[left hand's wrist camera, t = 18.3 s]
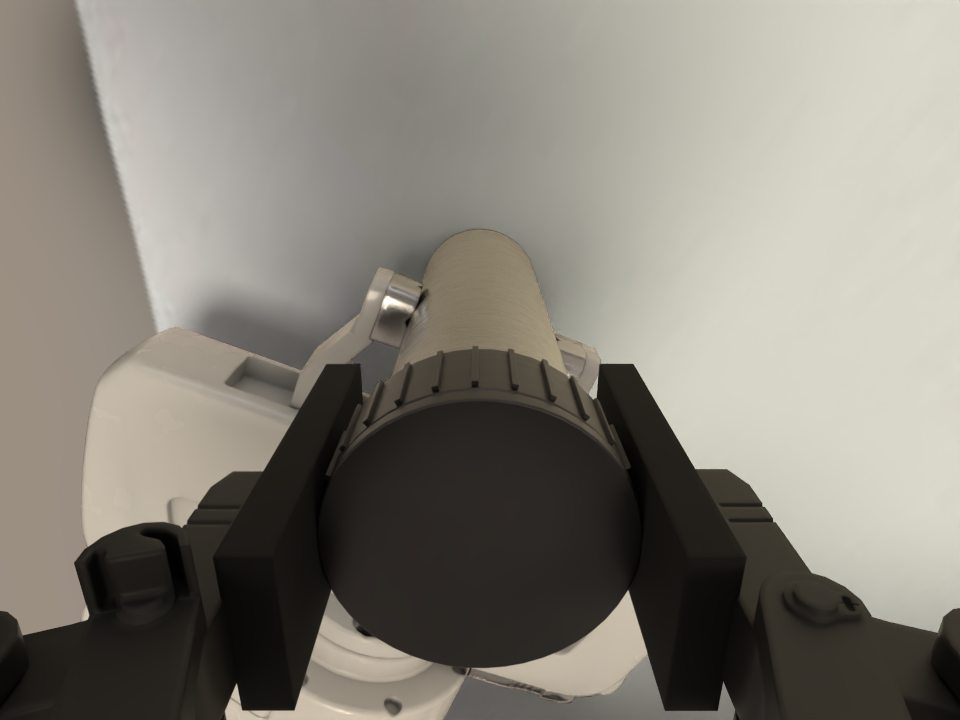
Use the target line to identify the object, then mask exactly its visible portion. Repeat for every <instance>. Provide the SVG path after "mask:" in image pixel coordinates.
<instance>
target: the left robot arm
mask: <svg viewBox="0 0 960 720" xmlns="http://www.w3.org/2000/svg"><path fill="white" fill-rule="evenodd" d="M597 399H598V400H599V402H600V404H601V407H602V409H603V412H604V414H605V417H606V419H607V422H608V424H609V425H611V424H613V425H614V427H615V430H616V432H617V434H618V437H619V439H620V442H621V444H622V446H623V449H624V451H625V454H626V456H627V458H628V461H629V463H630V466H631V468H632V470H633V472H632V473H630V474H629V477H630V479H631V481H632V484H633V486H634V489H635V492H636V494H637V497H638V500H639V503H640V508H641V514H642V520H643V539H642V548H641V556H640V561H639V564H638V568H637V571H636V574H635V577H634V579H633V581H632V583H631V585H630V587H629V589H628V591H629V594H630V597H631V601H632V604H633V607H634V610H635V614H636V617H637V620H638V624H639V627H640V630H641V633H642V637H643V640H644V643H645V647H646V650H647V653H648V656H649V660H650V663H651V666H652V670H653V673H654V676H655V679H656V683H657V686H658V689H659V693H660V696H661V699H662V702H663V706H664V709H665V711H718V706H719V700H720V695H721V690H722V685H723V682H724V684H725V686H726V689H727V691H728V693H729V696H730V698H731V701H732V703H733V705H734V708H735V714H734V719H733V720H960V608H958V609H953V610H952V611H950V612H949V613H948V614H947V615H945V616H944V617H943V620H942V623H941V626H940V628H939V631H938V633H936V632H931V631H927V630H922V629H918V628H913V627H909V626H905V625H900V624H896V623H891V622H887V621H884V620H880V619H877V618H874V617H872V616H871V614H870V613H869V611H868V610H867V608H866V607H865V605H864V604H863V602H862V601H861V600H860V599H859V598H858V597H857V596H856V595H854V594H853V593H852V592H851V591H849V590H848V589H847V588H846V587H844V586H842V585H840V584H838V583H836V582H834V581H832V580H830V579H828V578H826V577H823V576H820V575H816V574H812V573H811V572H810V570H809V569H808V567H807V566H806V565H805V563H804V562H803V560H802V559H801V557H800V556H799V555H798V553H797V552H796V550H795V549H794V548H793V546H792V545H791V543H790V542H789V540H788V539H787V538H786V536H785V535H784V533H783V532H782V531H781V529H780V528H779V526H778V525H777V523H776V522H773V518H772V516H771V515H770V514H769V512H768V511H767V509H766V508H765V507H762V502H761V501H760V499H759V498H758V497H757V495H756V494H755V492H754V491H753V490H752V488H751V487H750V485H749V484H747V483H746V482H744V481H743V480H741V479H740V478H739V477H737V476H736V475H734V474H733V473H731V472H730V471H729V470H727V469H695V468H694V466H693V465H692V463H691V461H690V460H689V458H688V456H687V454H686V453H685V451H684V449H683V448H682V446H681V444H680V443H679V441H678V439H677V437H676V436H675V434H674V432H673V431H672V429H671V427H670V426H669V424H668V422H667V420H666V419H665V417H664V415H663V414H662V412H661V410H660V409H659V407H658V405H657V403H656V402H655V400H654V398H653V397H652V395H651V393H650V392H649V390H648V388H647V386H646V385H645V383H644V381H643V380H642V378H641V376H640V375H639V373H638V371H637V369H636V368H635V366H634V364H599V376H598V389H597ZM358 404H360V405H363V394H362V381H361V368H360V364H326V365H325V367H324V369H323V370H322V372H321V374H320V376H319V377H318V379H317V381H316V382H315V384H314V386H313V387H312V389H311V391H310V393H309V394H308V396H307V398H306V399H305V401H304V403H303V404H302V406H301V408H300V410H299V411H298V413H297V415H296V416H295V418H294V420H293V421H292V423H291V425H290V427H289V428H288V430H287V432H286V433H285V435H284V437H283V438H282V440H281V442H280V443H279V445H278V447H277V449H276V450H275V452H274V454H273V455H272V457H271V459H270V460H269V462H268V464H267V466H266V467H265V469H264V471H233V472H231V473H230V474H228V475H227V476H226V477H224V478H223V479H221V480H220V481H219V482H217V483H216V484H214V485H213V486H211V487H210V489H209V490H208V491H207V493H206V494H205V496H204V497H203V499H202V500H201V501H200V503H199V504H198V509H195V510H194V511H193V513H192V514H191V516H190V517H189V519H188V520H187V525H184V526H183V527H180V526H179V525H175V524H171V523H167V522H147V523H140V524H136V525H132V526H128V527H124V528H121V529H119V530H117V531H114V532H112V533H110V534H108V535H105V536H103V537H101V538H100V539H98V540H97V541H96V542H94V543H93V544H91V545H90V546H89V547H87V548H86V549H85V550H84V551H83V552H82V553H81V555H80V556H79V557H78V559H77V560H76V561H75V562H74V564H75V568H76V571H77V575H78V578H79V581H80V585H81V588H82V592H83V595H84V599H85V602H86V606H87V609H88V612H89V618H88V620H85V621H82V622H78V623H75V624H72V625H67V626H63V627H58V628H54V629H50V630H45V631H41V632H37V633H32V634H28V635H23V636H22V633H21V630H20V627H19V624H18V621H17V620H16V619H15V618H14V617H13V616H12V615H10V614H9V613H8V612H4V611H0V720H227V719H226V714H225V710H226V708H227V705H228V703H229V700H230V698H231V696H232V693H233V691H234V688H235V686H236V684H237V687H238V692H239V697H240V703H241V708H242V711H295V708H296V704H297V701H298V698H299V695H300V691H301V688H302V685H303V681H304V678H305V675H306V672H307V668H308V665H309V662H310V658H311V655H312V652H313V649H314V645H315V642H316V639H317V635H318V632H319V629H320V626H321V622H322V619H323V616H324V612H325V609H326V606H327V603H328V599H329V596H330V593H331V588H330V586H329V584H328V582H327V580H326V577H325V575H324V572H323V570H322V567H321V563H320V558H319V552H318V543H317V534H316V528H317V515H318V511H319V507H320V502H321V498H322V496H323V493H324V491H325V488H326V486H327V483H328V481H326V480H324V477H325V474H326V472H327V470H328V467H329V465H330V462H331V460H332V458H333V455H334V453H335V450H336V448H337V446H338V443H339V441H340V438H341V436H342V434H343V431H346V430H347V428H348V425H349V423H350V420H351V418H352V416H353V413H354V411H355V408H356V406H357V405H358Z"/></svg>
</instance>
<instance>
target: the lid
mask: <svg viewBox="0 0 960 720" xmlns="http://www.w3.org/2000/svg"><path fill="white" fill-rule="evenodd" d="M632 472H633V470H632V468H631V466H630V463H629V461H628V458H627V456H626V454H625V451H624V449H623V446H622V444H621V442H620V439H619V437H618V434H617V432H616V430H615V427H614V425H613V424H611V425H609V424H608V422H607V419H606V417H605V414H604V412H603V409H602V407H601V404H600V402H599V400H598V399H597V398H595V399H594V400H593V399H592V398H591V397H590V396H589V395H588V394H587V393H586V392H585V391H584V390H583V389H582V388H581V386H580V385H579V384H578V381H577V378H575V377H574V376H571V377H570V378H569V377H568V376H567V375H565V374H564V373H562V372H561V371H559V370H557V369H555V368H554V367H552V366H550V365H549V364H548V361H547V360H545V359H542V361H539V360H536V359H534V358H532V357H528V356H525V355H521V354H517V353H515V352H514V349H508V351H501V350H494V349H479V347H478V346H473V347H472V349H468V350H458V351H451V352H447V353H443V350H441V351H437V355H434V356H431V357H429V358H426V359H423V360H420V361H418V362H416V363H414V364H412V365H411V364H410V362H408V363H406V364H405V365H404V368H403V369H402V370H400V371H399V372H397V373H396V374H394V375H393V376H392V377H390V378H389V379H387V380H386V381H385V382H384V383H383V382H382V381H381V380H380V381H379V382H378V383H377V385H376V387H375V390H374V392H373V393H372V394H371V395H370V396H369V398H368V399H367V400H366V401H365V402H364V404H363V405H360V404H358V405H357V406H356V408H355V411H354V413H353V416H352V418H351V420H350V423H349V425H348V428H347V430H346V431H343V434H342V436H341V438H340V441H339V443H338V446H337V448H336V450H335V453H334V455H333V458H332V460H331V462H330V465H329V467H328V470H327V472H326V474H325V477H324V480H326V481H328V483H327V486H326V488H325V491H324V493H323V496H322V498H321V502H320V507H319V511H318V515H317V528H316V534H317V543H318V552H319V558H320V563H321V567H322V570H323V572H324V575H325V577H326V580H327V582H328V584H329V586H330V588H331V590H332V591H333V593H334V595H335V596H336V598H337V600H338V601H339V603H340V604H341V605H342V606H343V608H344V609H345V610H346V611H347V613H348V614H349V615H350V616H351V617H352V618H353V619H354V620H355V621H356V622H357V623H358V624H359V625H360V626H361V627H363V628H364V629H365V630H367V631H368V632H369V633H370V634H372V635H373V636H374V637H376V638H377V639H379V640H381V641H382V642H384V643H386V644H387V645H389V646H391V647H392V648H395V649H397V650H399V651H401V652H403V653H406V654H408V655H410V656H413V657H416V658H419V659H422V660H425V661H428V662H433V663H437V664H442V665H446V666H454V667H463V668H495V667H506V666H512V665H517V664H523V663H527V662H530V661H534V660H537V659H541V658H544V657H546V656H549V655H551V654H554V653H556V652H559V651H561V650H563V649H565V648H567V647H568V646H570V645H572V644H574V643H576V642H578V641H579V640H580V639H582V638H583V637H585V636H586V635H588V634H589V633H591V632H592V631H593V630H594V629H595V628H597V627H598V626H599V625H600V624H601V623H602V622H603V621H604V620H606V619H607V617H608V616H609V615H610V614H611V613H612V612H613V611H614V609H615V608H616V607H617V606H618V605H619V603H620V602H621V600H622V599H623V597H624V596H625V594H626V593H627V591H628V589H629V587H630V585H631V583H632V581H633V579H634V577H635V574H636V571H637V568H638V564H639V561H640V556H641V548H642V539H643V520H642V514H641V508H640V503H639V500H638V497H637V494H636V492H635V489H634V486H633V484H632V481H631V479H630V477H629V474H630V473H632Z"/></svg>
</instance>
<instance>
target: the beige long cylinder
mask: <svg viewBox="0 0 960 720" xmlns="http://www.w3.org/2000/svg"><path fill="white" fill-rule="evenodd" d="M422 283H423V284H424V285H423V288H422V291H421V294H420V297H419V300H418V303H417V306H416V308H415V311H414V313H413V315H412V317H411V318H410V320H409V324H408V327H407V330H406V333H405V336H404V339H403V342H402V345H401V348H400V351H399V354H398V357H397V361H396V364H395V367H394V370H393V373H392V376H393V375H394V374H396V373H397V372H399V371H400V370H402V369H403V368H404V365H405V364H406V363H408V362H410V364H411V365H412V364H414V363H416V362H418V361H420V360H423V359H426V358H429V357H431V356H434V355H437V351H441V350H443V353H447V352H451V351H458V350H468V349H472V347H473V346H478V347H479V349H494V350H501V351H508V349H514V352H515V353H517V354H521V355H525V356H528V357H532V358H534V359H536V360H539V361H542V359H545V360H547V361H548V364H549V365H550V366H552V367H554V368H555V369H557V370H559V371H561V372H562V373H564V374H565V375H567V376H568V374H567V371H566V368H565V365H564V362H563V359H562V356H561V353H560V350H559V347H558V344H557V340H556V337H555V334H554V331H553V328H552V325H551V322H550V319H549V316H548V313H547V310H546V307H545V304H544V301H543V297H542V294H541V291H540V288H539V285H538V282H537V279H536V276H535V273H534V270H533V267H532V264H531V262H530V260H529V258H528V256H527V254H526V253H525V252H524V250H523V249H522V248H521V247H520V246H519V245H518V244H517V243H516V242H515V241H513V240H512V239H511V238H509V237H507V236H505V235H503V234H501V233H498V232H495V231H491V230H483V229H478V230H469V231H465V232H461V233H459V234H456V235H454V236H452V237H451V238H449V239H447V240H446V241H445V242H444V243H442V244H441V245H440V246H439V247H438V248H437V249H436V251H435V252H434V254H433V255H432V257H431V259H430V261H429V263H428V265H427V268H426V271H425V274H424V277H423V280H422ZM392 376H391V377H392Z"/></svg>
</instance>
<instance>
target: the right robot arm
mask: <svg viewBox="0 0 960 720" xmlns="http://www.w3.org/2000/svg"><path fill="white" fill-rule="evenodd" d="M423 285H424V284H423V283H420V282H418V281H415V280H413V279H410V278H408V277H405V276H403V275H400V274H398V273H395V272H394V271H391V270H388V269H385V268H382V267H379V268H378V270H377V271H376V273H375V275H374V277H373V279H372V282H371V284H370V286H369V289H368V291H367V294H366V297H365V300H364V303H363V306H362V309H361V312H360V314H358V315H357V316H356V317H354V318H353V319H352V320H351V321H349V322H348V323H347V324H346V325H344V326H343V327H342V328H341V329H339V330H338V331H337V332H336V333H334V334H333V335H332V336H331V337H329V338H328V339H327V340H325V341H324V342H323V343H322V344H320V345H319V346H318V347H317V348H316V349H315V351H314V352H313V354H312V355H311V357H310V358H309V360H308V361H307V363H306V364H305V366H304V367H303V369H302V370H300V369H297V368H294V367H291V366H288V365H285V364H283V363H280V362H277V361H274V360H271V359H268V358H266V357H263V356H260V355H257V354H254V353H251V352H249V351H246V350H243V349H240V348H237V347H234V346H231V345H229V344H226V343H223V342H220V341H217V340H214V339H212V338H209V337H206V336H203V335H200V334H198V333H195V332H192V331H189V330H186V329H182V328H170V329H167V330H165V331H163V332H161V333H159V334H157V335H155V336H153V337H151V338H149V339H147V340H145V341H143V342H142V343H140V344H138V345H137V346H135V347H133V348H132V349H130V350H129V351H127V352H126V353H125V354H123V355H122V356H121V357H120V358H118V359H117V360H116V361H115V362H114V363H113V364H112V365H111V366H110V367H108V369H107V370H106V371H105V372H104V374H103V375H102V376H101V378H100V379H99V381H98V383H97V386H96V388H95V391H94V395H93V399H92V403H91V408H90V413H89V419H88V425H87V432H86V439H85V448H84V458H83V471H82V490H81V522H82V529H83V535H84V539H85V542H86V545H87V547H89V546H90V545H91V544H93V543H94V542H96V541H97V540H98V539H100V538H101V537H103V536H105V535H108V534H110V533H112V532H114V531H117V530H119V529H121V528H124V527H128V526H132V525H136V524H140V523H147V522H167V523H171V524H175V525H179V526H180V527H183V526H184V525H187V520H188V519H189V517H190V516H191V514H192V513H193V511H194V510H195V509H198V504H199V503H200V501H201V500H202V499H203V497H204V496H205V494H206V493H207V491H208V490H209V489H210V487H211V486H213V485H214V484H216V483H217V482H219V481H220V480H221V479H223V478H224V477H226V476H227V475H228V474H230V473H231V472H233V471H264V469H265V467H266V466H267V464H268V462H269V460H270V459H271V457H272V455H273V454H274V452H275V450H276V449H277V447H278V445H279V443H280V442H281V440H282V438H283V437H284V435H285V433H286V432H287V430H288V428H289V427H290V425H291V423H292V421H293V420H294V418H295V416H296V415H297V413H298V411H299V410H300V408H301V406H302V404H303V403H304V401H305V399H306V398H307V396H308V394H309V393H310V391H311V389H312V387H313V386H314V384H315V382H316V381H317V379H318V377H319V376H320V374H321V372H322V370H323V369H324V367H325V365H326V364H355V363H354V361H351V359H353V358H354V357H355V356H356V355H358V354H359V353H360V352H361V351H363V350H364V349H365V348H366V347H367V346H369V345H370V344H371V343H372V342H374V341H377V342H380V343H383V344H386V345H389V346H392V347H395V348H398V349H400V348H401V345H402V342H403V339H404V336H405V333H406V330H407V327H408V324H409V320H410V318H411V317H412V315H413V313H414V311H415V308H416V306H417V303H418V300H419V297H420V294H421V291H422V288H423ZM554 334H555V333H554ZM555 337H556V340H557V344H558V347H559V350H560V353H561V356H562V359H563V362H564V365H565V368H566V371H567V374H568V377H569V378H570V377H571V376H574V377H575V378H577V381H578V384H579V385H580V386H581V388H582V389H583V390H584V391H585V392H586V393H587V394H589V392H590V390H591V388H592V386H593V384H594V382H595V380H596V378H597V376H598V374H599V364H601V360H600V358H599V356H598V354H597V351H596V349H595V348H593V347H590V346H587V345H585V344H582V343H580V342H577V341H574V340H571V339H569V338H566V337H563V336H561V335H558V334H555ZM362 394H363V404H364V402H365V401H366V400H367V399H368V398H369V396H370V395H371V394H368V393H365V392H362ZM88 618H89V612H88V609H87V606H86V605H85V608H84V610H83V612H82V616H81V621H80V622H82V621H85V620H88ZM647 655H648V653H647V650H646V647H645V643H644V640H643V637H642V633H641V630H640V627H639V624H638V620H637V617H636V614H635V610H634V607H633V604H632V601H631V597H630V594H629V591H627V593H626V594H625V596H624V597H623V599H622V600H621V602H620V603H619V605H618V606H617V607H616V608H615V609H614V611H613V612H612V613H611V614H610V615H609V616H608V617H607V619H606V620H604V621H603V622H602V623H601V624H600V625H599V626H598V627H597V628H595V629H594V630H593V631H592V632H591V633H589V634H588V635H586V636H585V637H583V638H582V639H580V640H579V641H578V642H576V643H574V644H572V645H570V646H568V647H567V648H565V649H563V650H561V651H559V652H556V653H554V654H551V655H549V656H546V657H544V658H541V659H537V660H534V661H530V662H527V663H523V664H517V665H512V666H506V667H495V668H463V667H454V666H446V665H442V664H437V663H433V662H428V661H425V660H422V659H419V658H416V657H413V656H410V655H408V654H406V653H403V652H401V651H399V650H397V649H395V648H392V647H391V646H389V645H387V644H386V643H384V642H382V641H381V640H379V639H377V638H376V637H374V636H373V635H372V634H370V633H369V632H368V631H367V630H365V629H364V628H363V627H361V626H360V625H359V624H358V623H357V622H356V621H355V620H354V619H353V618H352V617H351V616H350V615H349V614H348V613H347V611H346V610H345V609H344V608H343V606H342V605H341V604H340V603H339V601H338V600H337V598H336V596H335V595H334V593H333V591H332V590H331V593H330V596H329V599H328V603H327V606H326V609H325V612H324V616H323V619H322V622H321V626H320V629H319V632H318V635H317V639H316V642H315V645H314V649H313V652H312V655H311V658H310V662H309V665H308V668H307V672H306V675H305V678H304V681H303V685H302V688H301V691H300V695H299V698H298V701H297V704H296V708H295V711H242V708H241V703H240V697H239V692H238V687H237V684H236V686H235V688H234V691H233V693H232V696H231V698H230V700H229V703H228V705H227V708H226V710H225V714H226V719H227V720H443V719H444V717H445V715H446V714H447V712H448V710H449V708H450V706H451V704H452V702H453V700H454V699H455V697H456V695H457V693H458V691H459V689H460V687H461V685H462V683H463V681H464V679H465V677H466V676H467V677H471V678H474V679H478V680H481V681H484V682H488V683H491V684H495V685H498V686H503V687H509V688H514V689H515V688H516V689H521V690H525V691H529V692H532V693H535V694H537V695H538V696H539V697H541V698H543V699H546V700H549V701H553V702H558V703H571V702H572V701H573V700H574V698H575V696H576V697H591V696H595V695H599V694H602V695H608V694H611V693H612V692H614V691H615V690H616V689H618V687H619V686H620V685H621V684H622V683H623V681H624V680H625V678H626V676H627V675H628V674H629V673H630V672H631V671H632V670H633V669H634V668H635V667H636V666H637V665H638V664H639V663H640V662H641V661H642V660H643V659H644V658H645V657H646V656H647Z"/></svg>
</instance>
